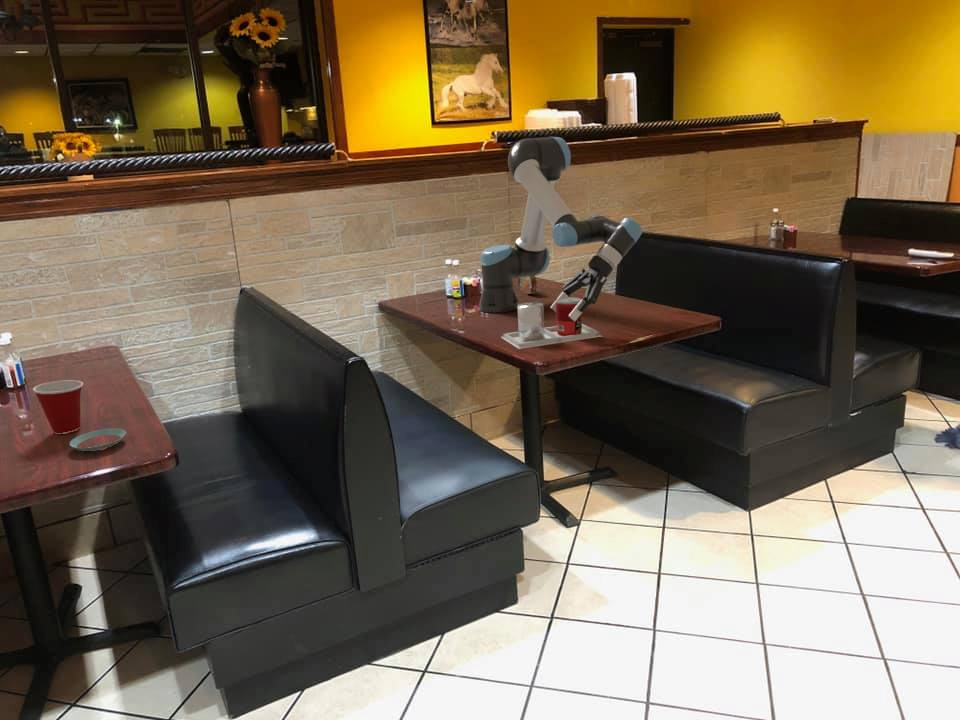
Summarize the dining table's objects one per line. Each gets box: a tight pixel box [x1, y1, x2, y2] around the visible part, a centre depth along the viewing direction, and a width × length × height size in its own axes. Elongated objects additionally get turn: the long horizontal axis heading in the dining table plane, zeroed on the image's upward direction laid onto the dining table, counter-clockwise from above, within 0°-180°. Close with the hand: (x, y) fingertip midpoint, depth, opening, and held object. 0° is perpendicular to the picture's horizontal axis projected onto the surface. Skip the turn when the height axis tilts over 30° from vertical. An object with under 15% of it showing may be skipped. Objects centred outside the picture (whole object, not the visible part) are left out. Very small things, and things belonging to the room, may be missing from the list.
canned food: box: [555, 296, 583, 336], centre depth 238 cm, size 8×8×11 cm
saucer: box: [69, 428, 127, 452], centre depth 174 cm, size 12×12×2 cm
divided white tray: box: [500, 323, 603, 350], centre depth 237 cm, size 16×28×3 cm, turn 109°
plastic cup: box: [32, 379, 84, 433], centre depth 183 cm, size 11×11×12 cm
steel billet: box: [517, 301, 545, 342], centre depth 234 cm, size 8×8×11 cm
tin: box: [517, 275, 537, 295], centre depth 309 cm, size 15×3×8 cm, turn 18°
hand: (562, 314), depth 236 cm, fingers open, 13 cm apart
